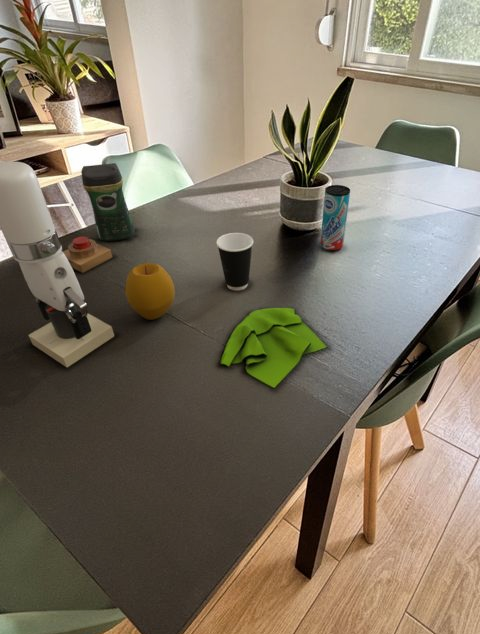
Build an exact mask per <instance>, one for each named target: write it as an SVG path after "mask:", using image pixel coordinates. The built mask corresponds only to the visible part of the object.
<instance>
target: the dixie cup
mask: <svg viewBox="0 0 480 634" xmlns="http://www.w3.org/2000/svg"><path fill="white" fill-rule="evenodd" d="M215 242H216V243H215V244H216V246H217V249H218V252H219V258H220V262H221V267H222V272H223V277H224V282H225V284H226V285H227V288H228V289H229V290H231V291H238V292H239V291H243V290H245V289H246V288H247V287H248V285H249V282H250V274H251V263H252V262H251V261H252V251H253V249H252V248H253V244H254V239H253V237H252V236H251V235H249V234H246V233H243V232H230V233H226V234H223V235H221V236H219V237H218V238H217V239H216V241H215Z"/></svg>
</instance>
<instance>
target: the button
mask: <svg viewBox="0 0 480 634" xmlns="http://www.w3.org/2000/svg"><path fill="white" fill-rule="evenodd" d="M88 239H89V238H88V237H87V236H78V237H76V238H73V240H72V242H73V244H74V247H75V249H78V250H81V249H86V248H88V247H90V243H89V240H88Z"/></svg>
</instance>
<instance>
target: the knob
mask: <svg viewBox="0 0 480 634" xmlns="http://www.w3.org/2000/svg"><path fill="white" fill-rule="evenodd" d="M71 303H72V302H71V301H70V300H69V301H67V302H66V305H65V306H67V305H69V304H71ZM69 310H70V311H71V313H72V314H73V315H74V314H75V312H77V310H76V307H75V306H74V307H72V308H70V309H69ZM46 311H47V314H48V316H49V318H50V319H49V321H50V322H51V323H52V325H53V328H54V330H55V332H56V334H57V336H58V337H60V338H63V339H69V338H73V337H75V336H74V333H73V331H72V328H71V326H70V323H69V322H70V321H71V320H70V319H69V317H68V316H67V315H66V313H65V312H64V311H59V310H57V309H55V308H53V307H52V306H50V305H48V304H47V306H46Z"/></svg>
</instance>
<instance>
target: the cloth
mask: <svg viewBox="0 0 480 634" xmlns="http://www.w3.org/2000/svg"><path fill="white" fill-rule="evenodd" d="M327 348H328V347H327V345H326V344H325V343H324V342H323V341H322V340H321V339H320V338H319V336H317V334H315V332H314V331H313V330H312V329H310V327H308V326H307V325H306V324H305V323H304V322H303V321H302V318H301V317H300V315H298V314H295V309H294V308H292V307H291V308H290V307H271V308H270V307H268V308H262V309H256V310H253V311H251V312H249V314H248V315H247V316H246V317H245V318H244V319H243V320H242V321H241V322H240V323H239V324H237V326H236V327H235V328H234V330H233V331H232V333H231V335H230V336H229V339H228V340H227V343H226V344H225V347H224V352H223V354H222V356H221V360H220V365H225V366H227V367H230V366H231V365H235V364H240V363H242V362H243V360H244V359H245V361H246V362H245V371H246V373H247V374H248V375H250V376H251V377H252V378H254V379H256V380H258V381H260V382H262V383H263V384H265V385H267V386H269V387H271V388H273V389H275V388H276V387H277V386H278V385H279V384H280V383H281V382H282V381H283V380H284V379H285V377H286V376H287V375H288V374H289V373H290V372H291V371H292V370H293V369H294V368H295V367H296V366H297V365H298V364H299V362H300V361H301V358H302V356H304V355H307V354H310V353H315V352H317V351H321V350H324V349H327Z"/></svg>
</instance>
